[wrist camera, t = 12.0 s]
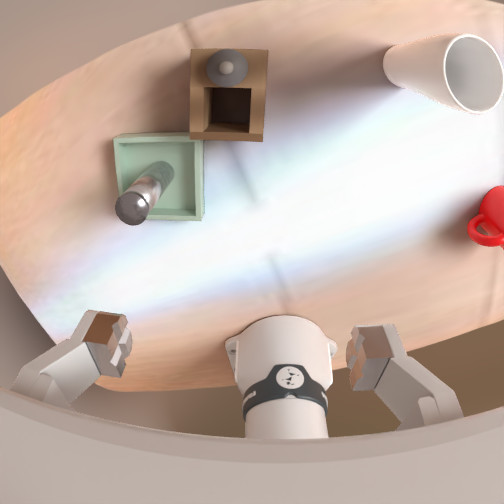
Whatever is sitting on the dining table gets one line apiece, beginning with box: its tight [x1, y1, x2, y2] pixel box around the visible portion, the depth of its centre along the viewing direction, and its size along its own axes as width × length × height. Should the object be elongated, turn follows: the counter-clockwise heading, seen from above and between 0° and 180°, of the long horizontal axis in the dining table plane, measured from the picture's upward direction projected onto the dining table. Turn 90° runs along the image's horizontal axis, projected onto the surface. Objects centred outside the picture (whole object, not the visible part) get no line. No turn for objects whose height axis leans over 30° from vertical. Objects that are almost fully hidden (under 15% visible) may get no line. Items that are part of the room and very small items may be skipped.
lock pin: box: [115, 161, 174, 225], centre depth 33 cm, size 3×3×11 cm
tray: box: [113, 132, 204, 221], centre depth 37 cm, size 10×10×2 cm
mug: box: [467, 186, 504, 249], centre depth 35 cm, size 8×12×8 cm, turn 113°
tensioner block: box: [190, 49, 268, 142], centre depth 29 cm, size 9×7×8 cm
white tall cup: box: [383, 33, 504, 115], centre depth 23 cm, size 7×7×15 cm
